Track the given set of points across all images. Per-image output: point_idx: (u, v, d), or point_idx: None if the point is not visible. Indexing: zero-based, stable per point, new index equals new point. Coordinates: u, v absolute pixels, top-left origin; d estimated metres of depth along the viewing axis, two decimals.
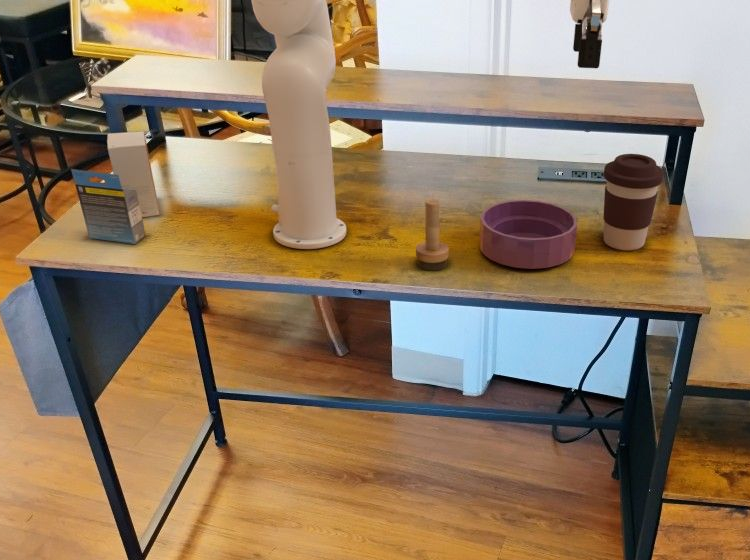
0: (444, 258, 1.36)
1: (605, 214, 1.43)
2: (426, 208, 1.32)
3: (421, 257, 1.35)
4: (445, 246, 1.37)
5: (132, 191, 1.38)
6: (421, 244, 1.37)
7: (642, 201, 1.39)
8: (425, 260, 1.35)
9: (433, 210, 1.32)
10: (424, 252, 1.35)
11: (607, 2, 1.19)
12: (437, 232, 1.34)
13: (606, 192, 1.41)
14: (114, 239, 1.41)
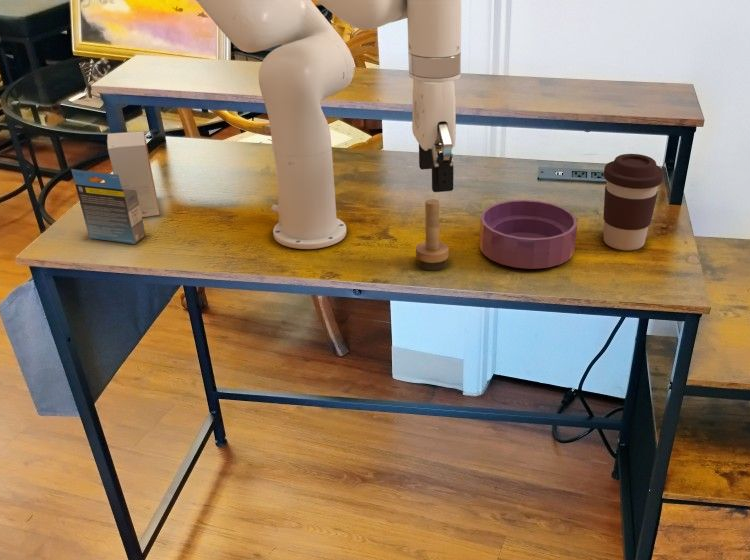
0: (444, 258, 1.36)
1: (605, 214, 1.43)
2: (426, 208, 1.32)
3: (421, 257, 1.35)
4: (445, 246, 1.37)
5: (132, 191, 1.38)
6: (421, 244, 1.37)
7: (642, 201, 1.39)
8: (425, 260, 1.35)
9: (433, 210, 1.32)
10: (424, 252, 1.35)
11: (454, 130, 1.21)
12: (437, 232, 1.34)
13: (606, 192, 1.41)
14: (114, 239, 1.41)
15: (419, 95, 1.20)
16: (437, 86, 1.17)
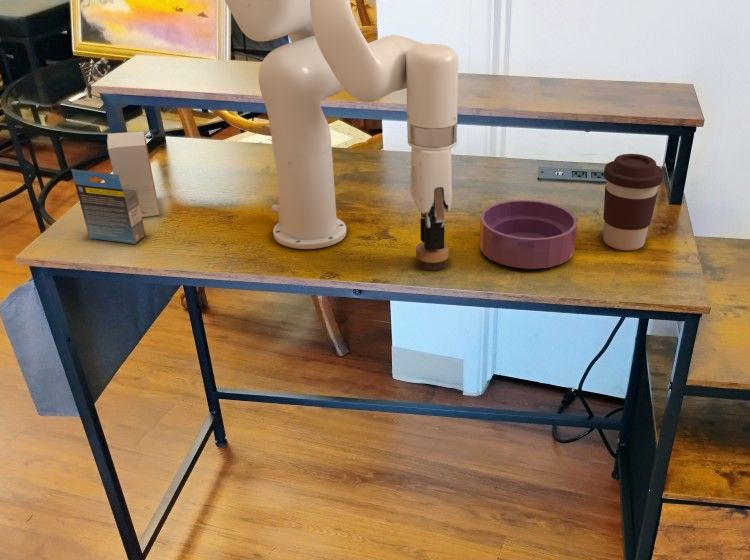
0: (444, 258, 1.36)
1: (605, 214, 1.43)
2: None
3: (421, 257, 1.35)
4: (445, 246, 1.37)
5: (132, 191, 1.38)
6: (421, 244, 1.37)
7: (642, 201, 1.39)
8: (425, 260, 1.35)
9: None
10: (424, 252, 1.35)
11: (450, 195, 1.27)
12: None
13: (606, 192, 1.41)
14: (114, 239, 1.41)
15: (417, 162, 1.26)
16: (434, 155, 1.23)
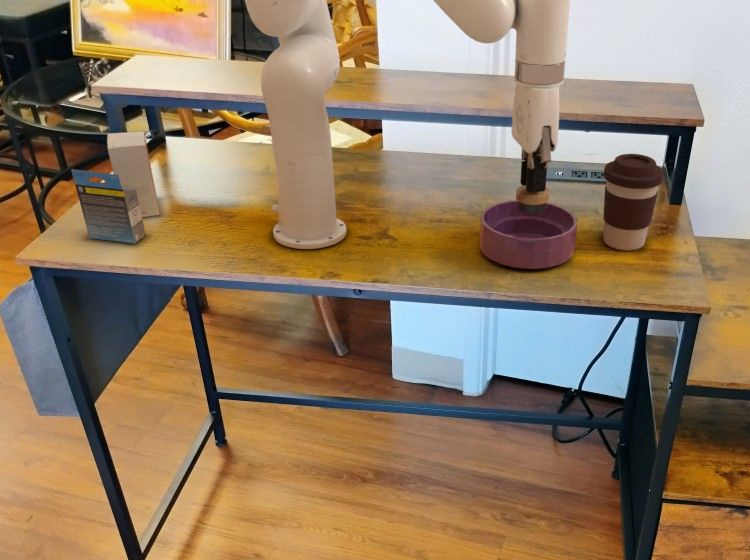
0: (545, 200, 1.36)
1: (605, 214, 1.43)
2: None
3: (522, 199, 1.36)
4: (545, 189, 1.38)
5: (132, 191, 1.38)
6: (521, 187, 1.38)
7: (642, 201, 1.39)
8: (527, 202, 1.36)
9: None
10: (526, 194, 1.36)
11: (557, 134, 1.27)
12: None
13: (606, 192, 1.41)
14: (114, 239, 1.41)
15: (525, 100, 1.26)
16: (544, 92, 1.24)
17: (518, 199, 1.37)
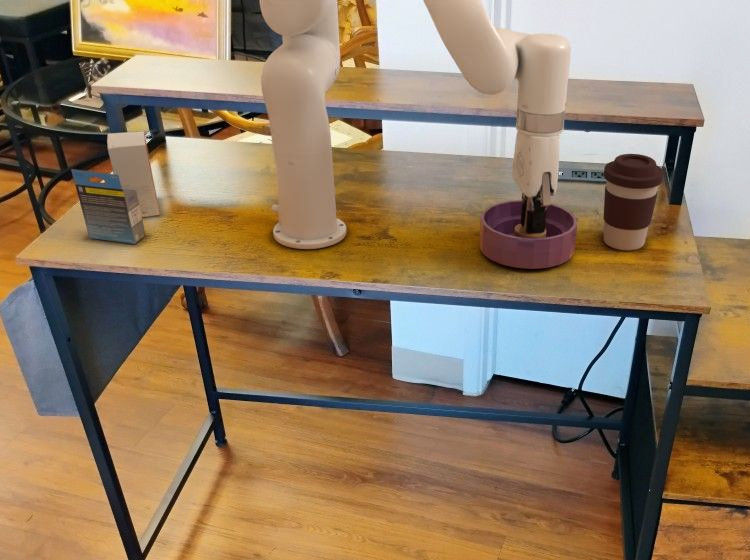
0: None
1: (605, 214, 1.43)
2: None
3: None
4: None
5: (132, 191, 1.38)
6: (519, 225, 1.42)
7: (642, 201, 1.39)
8: None
9: None
10: (524, 233, 1.39)
11: (556, 180, 1.32)
12: None
13: (606, 192, 1.41)
14: (114, 239, 1.41)
15: (526, 147, 1.30)
16: (544, 140, 1.28)
17: None
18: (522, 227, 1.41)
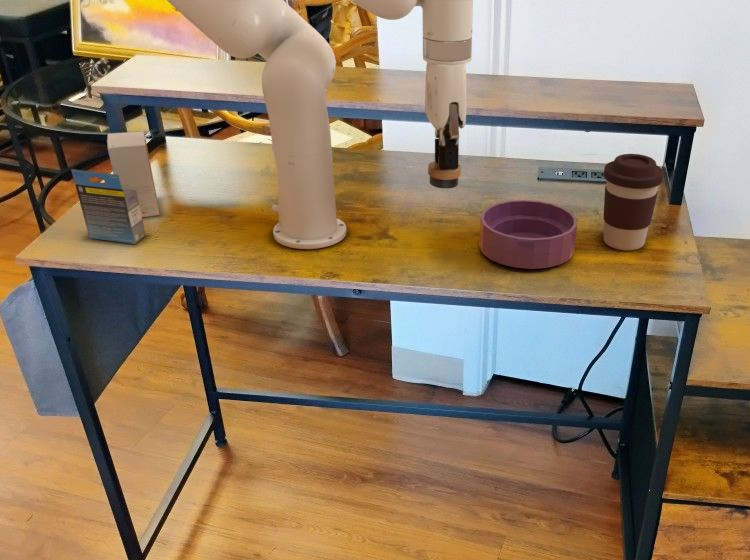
0: (456, 176, 1.37)
1: (605, 214, 1.43)
2: None
3: (433, 174, 1.37)
4: (458, 165, 1.39)
5: (132, 191, 1.38)
6: (434, 162, 1.39)
7: (642, 201, 1.39)
8: (437, 177, 1.37)
9: None
10: (437, 169, 1.37)
11: (465, 111, 1.29)
12: None
13: (606, 192, 1.41)
14: (114, 239, 1.41)
15: (432, 77, 1.27)
16: (449, 68, 1.25)
17: (429, 173, 1.38)
18: (436, 164, 1.38)
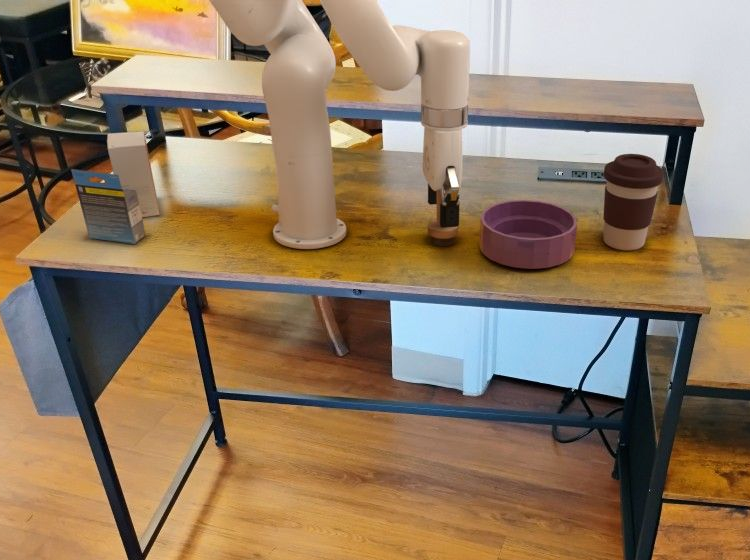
0: (454, 234, 1.43)
1: (605, 214, 1.43)
2: None
3: (432, 233, 1.43)
4: None
5: (132, 191, 1.38)
6: (432, 221, 1.45)
7: (642, 201, 1.39)
8: (436, 236, 1.43)
9: None
10: (435, 228, 1.43)
11: (461, 173, 1.35)
12: None
13: (606, 192, 1.41)
14: (114, 239, 1.41)
15: (430, 141, 1.33)
16: (446, 134, 1.31)
17: (428, 232, 1.44)
18: (435, 223, 1.45)
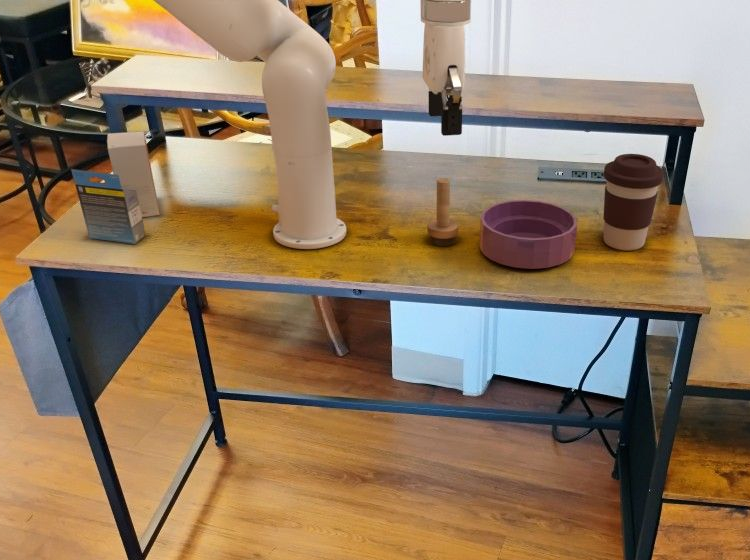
0: (454, 234, 1.43)
1: (605, 214, 1.43)
2: (437, 186, 1.40)
3: (432, 233, 1.43)
4: (455, 223, 1.45)
5: (132, 191, 1.38)
6: (432, 221, 1.45)
7: (642, 201, 1.39)
8: (436, 236, 1.43)
9: (444, 188, 1.39)
10: (435, 228, 1.43)
11: (463, 74, 1.26)
12: (447, 209, 1.42)
13: (606, 192, 1.41)
14: (114, 239, 1.41)
15: (430, 39, 1.24)
16: (447, 29, 1.22)
17: (428, 232, 1.44)
18: (435, 223, 1.45)
